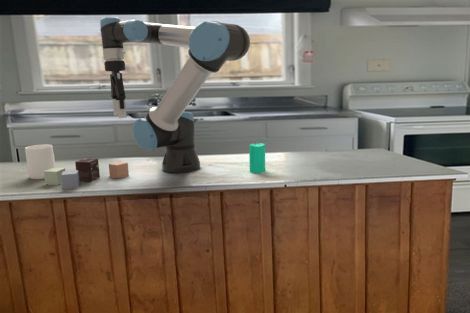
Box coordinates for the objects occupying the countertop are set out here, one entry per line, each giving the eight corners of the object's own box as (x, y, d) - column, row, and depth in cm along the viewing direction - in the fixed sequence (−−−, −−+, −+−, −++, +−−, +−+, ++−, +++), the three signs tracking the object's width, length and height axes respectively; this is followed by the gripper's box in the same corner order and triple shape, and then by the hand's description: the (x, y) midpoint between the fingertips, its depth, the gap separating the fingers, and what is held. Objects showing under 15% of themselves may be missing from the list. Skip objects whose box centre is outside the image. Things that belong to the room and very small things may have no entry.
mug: (24, 180, 152) (19, 149, 150) (39, 172, 164) (35, 143, 161) (49, 179, 152) (45, 148, 150) (62, 171, 164) (59, 142, 161)
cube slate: (79, 183, 145) (78, 170, 144) (78, 187, 141) (76, 173, 140) (64, 185, 144) (63, 171, 143) (62, 189, 139) (61, 174, 138)
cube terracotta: (128, 175, 155) (127, 162, 154) (117, 178, 151) (116, 165, 150) (120, 173, 158) (119, 161, 157) (109, 176, 155) (108, 163, 154)
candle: (267, 170, 158) (267, 139, 156) (261, 173, 153) (261, 142, 150) (253, 169, 161) (252, 138, 158) (247, 172, 155) (246, 141, 153)
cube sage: (66, 181, 149) (65, 168, 148) (58, 185, 144) (56, 171, 143) (54, 181, 150) (52, 167, 149) (45, 184, 145) (44, 171, 144)
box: (91, 181, 147) (89, 162, 146) (76, 181, 149) (74, 161, 147) (100, 177, 153) (98, 158, 152) (85, 177, 154) (83, 158, 153)
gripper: (130, 58, 145) (135, 117, 149) (119, 61, 168) (124, 113, 172) (108, 58, 142) (114, 119, 146) (100, 62, 165) (106, 115, 169)
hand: (120, 116), depth 159 cm, fingers open, 13 cm apart
